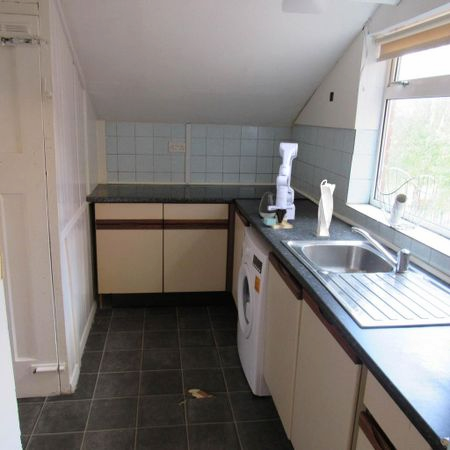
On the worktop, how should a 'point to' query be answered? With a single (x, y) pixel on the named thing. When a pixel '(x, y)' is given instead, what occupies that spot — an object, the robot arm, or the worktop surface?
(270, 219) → the stub
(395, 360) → the worktop surface
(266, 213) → the dark egg-shaped dome
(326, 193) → the skyscraper
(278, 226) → the board
